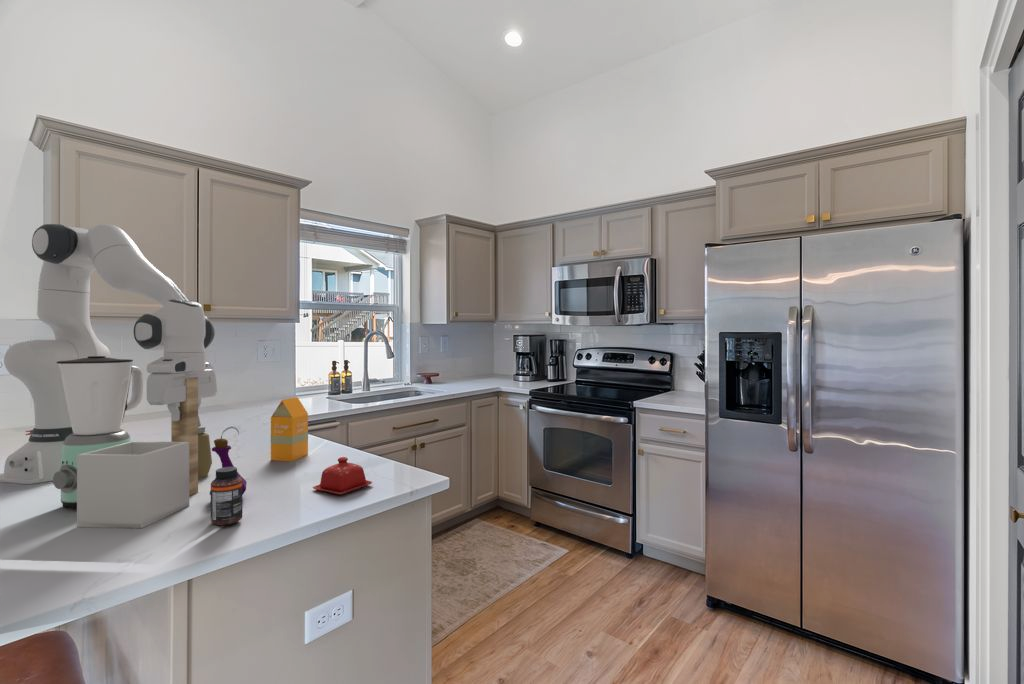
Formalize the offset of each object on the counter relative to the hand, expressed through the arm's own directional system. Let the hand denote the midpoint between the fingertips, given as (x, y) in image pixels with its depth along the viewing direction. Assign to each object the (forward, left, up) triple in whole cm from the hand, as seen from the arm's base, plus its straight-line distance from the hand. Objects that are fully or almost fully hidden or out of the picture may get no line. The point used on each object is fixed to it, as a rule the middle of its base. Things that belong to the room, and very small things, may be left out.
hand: (184, 418), depth 124 cm
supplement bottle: (+22, -17, -19) cm, 34 cm away
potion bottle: (+14, -4, -19) cm, 24 cm away
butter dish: (+38, +8, -20) cm, 43 cm away
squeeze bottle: (-8, +15, -19) cm, 26 cm away
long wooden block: (0, 0, -19) cm, 19 cm away
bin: (0, -15, -19) cm, 24 cm away
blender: (-16, -6, -19) cm, 26 cm away
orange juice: (+8, +37, -19) cm, 43 cm away
